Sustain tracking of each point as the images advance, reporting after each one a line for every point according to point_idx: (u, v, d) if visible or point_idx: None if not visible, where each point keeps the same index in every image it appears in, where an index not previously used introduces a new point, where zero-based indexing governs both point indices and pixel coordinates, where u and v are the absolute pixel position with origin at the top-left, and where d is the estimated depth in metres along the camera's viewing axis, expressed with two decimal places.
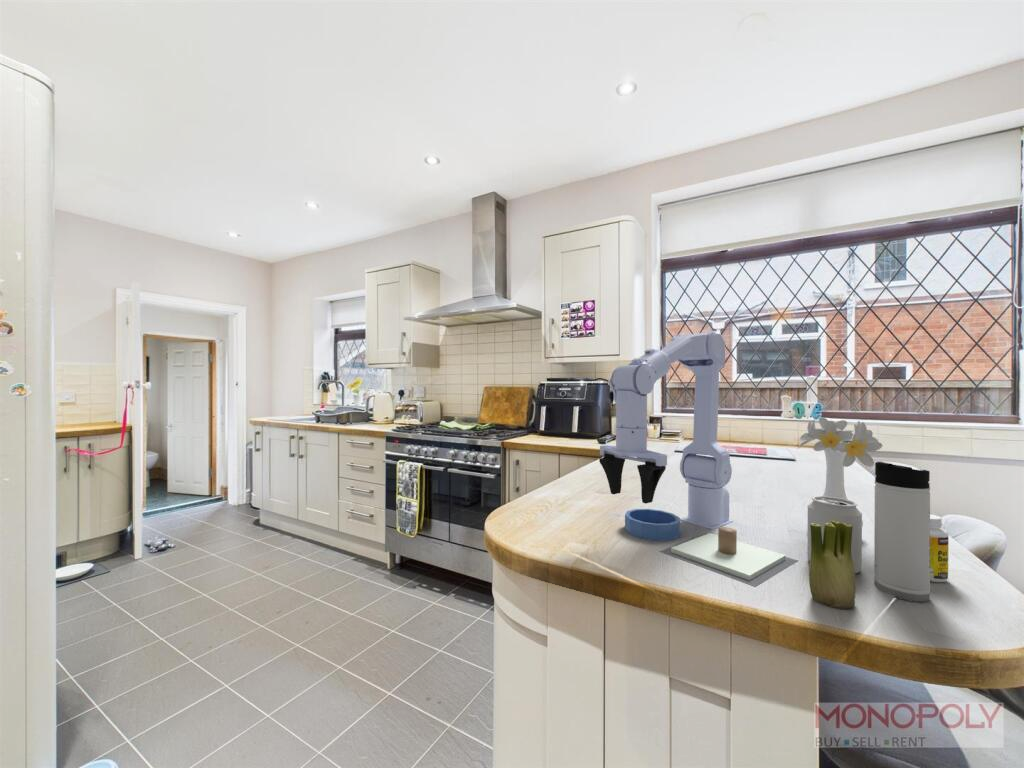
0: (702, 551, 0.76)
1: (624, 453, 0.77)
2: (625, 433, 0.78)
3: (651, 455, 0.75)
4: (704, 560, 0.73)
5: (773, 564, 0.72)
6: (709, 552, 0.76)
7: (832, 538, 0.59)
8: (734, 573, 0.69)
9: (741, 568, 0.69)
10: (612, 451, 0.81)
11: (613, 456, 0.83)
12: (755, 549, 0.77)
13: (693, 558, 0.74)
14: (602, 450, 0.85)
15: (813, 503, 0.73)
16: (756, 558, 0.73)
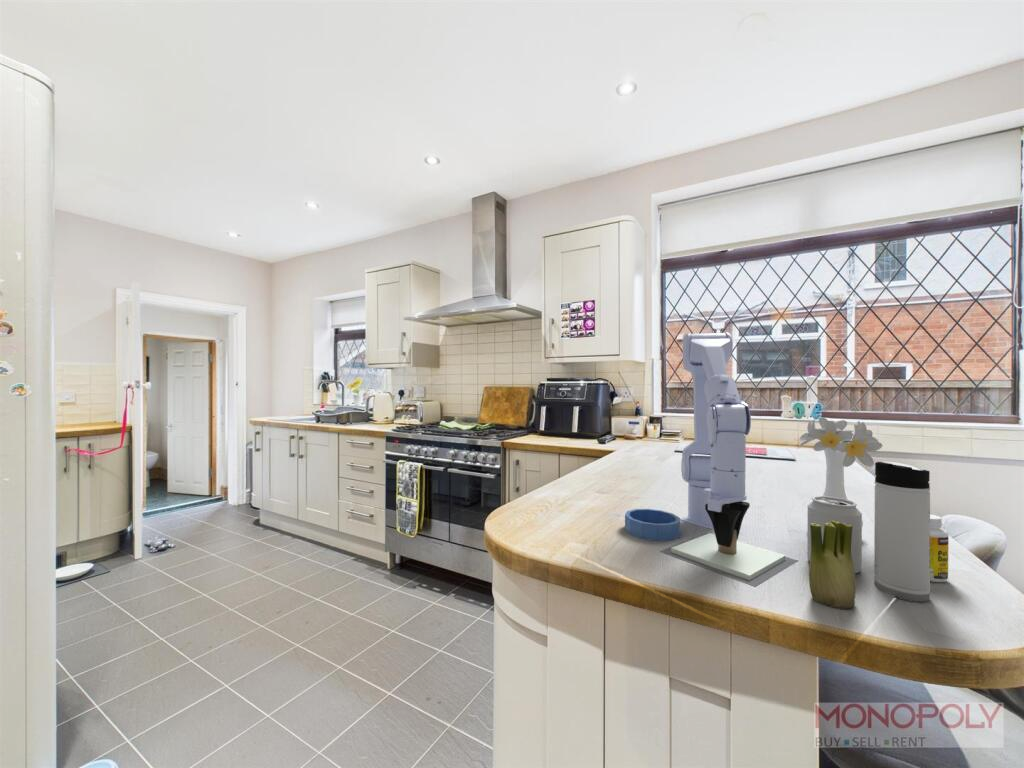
0: (702, 551, 0.76)
1: (707, 492, 0.78)
2: None
3: (709, 498, 0.73)
4: (704, 560, 0.73)
5: (773, 564, 0.72)
6: (709, 552, 0.76)
7: (832, 538, 0.59)
8: (734, 573, 0.69)
9: (741, 568, 0.69)
10: None
11: None
12: (755, 549, 0.77)
13: (693, 558, 0.74)
14: None
15: (813, 503, 0.73)
16: (756, 558, 0.73)
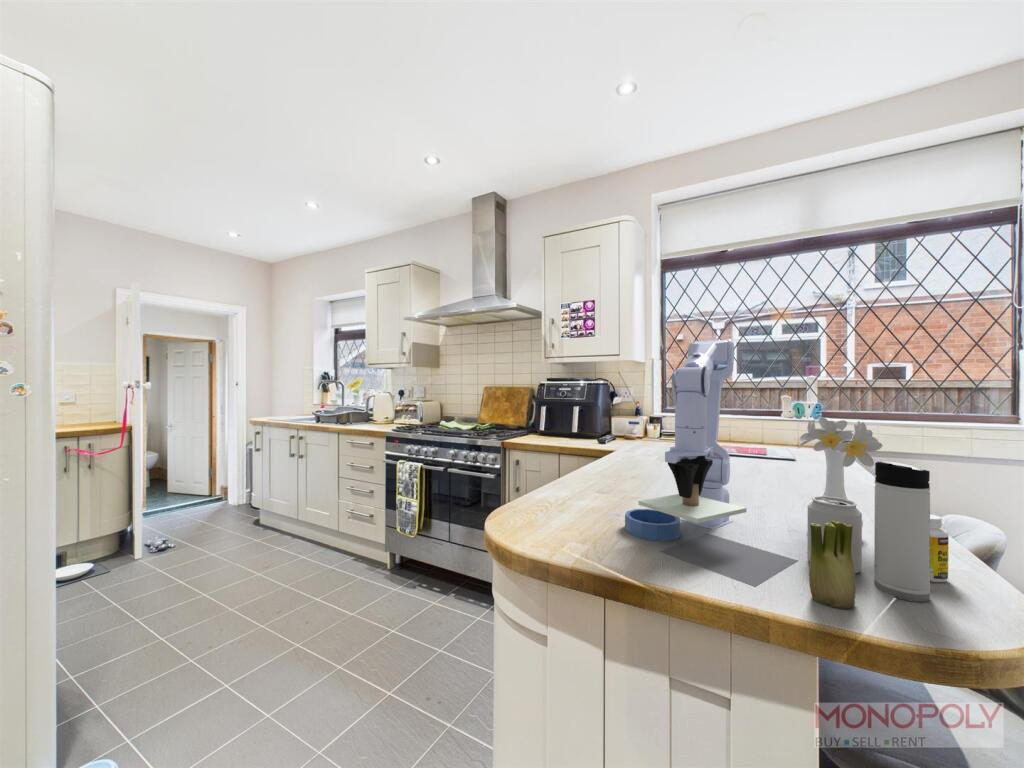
0: (666, 503, 0.83)
1: (672, 449, 0.84)
2: None
3: (668, 452, 0.80)
4: (663, 509, 0.79)
5: (729, 513, 0.77)
6: (672, 504, 0.82)
7: (832, 538, 0.59)
8: (686, 518, 0.75)
9: (693, 514, 0.75)
10: None
11: None
12: (719, 503, 0.83)
13: (655, 508, 0.81)
14: None
15: (813, 503, 0.73)
16: (715, 509, 0.79)
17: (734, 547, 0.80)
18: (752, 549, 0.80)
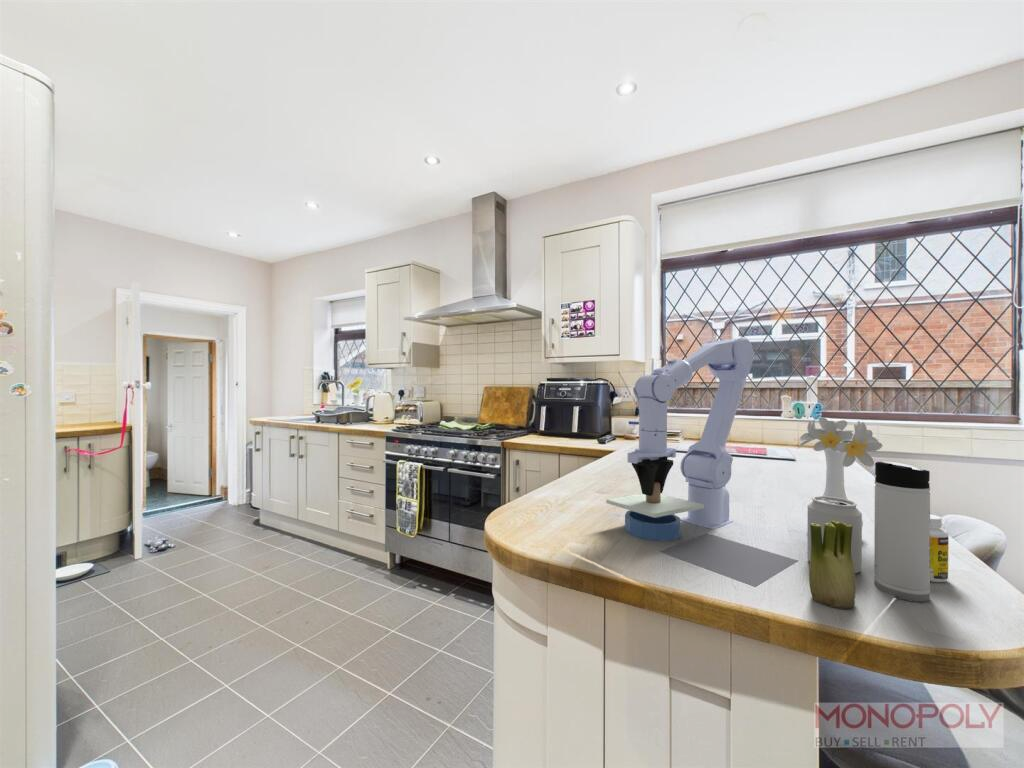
0: (631, 501, 0.90)
1: None
2: None
3: (631, 453, 0.87)
4: (626, 506, 0.86)
5: (686, 509, 0.84)
6: (636, 502, 0.89)
7: (832, 538, 0.59)
8: (645, 513, 0.82)
9: (652, 510, 0.82)
10: None
11: None
12: (680, 501, 0.89)
13: (620, 505, 0.88)
14: None
15: (813, 503, 0.73)
16: (674, 505, 0.86)
17: (734, 547, 0.80)
18: (752, 549, 0.80)
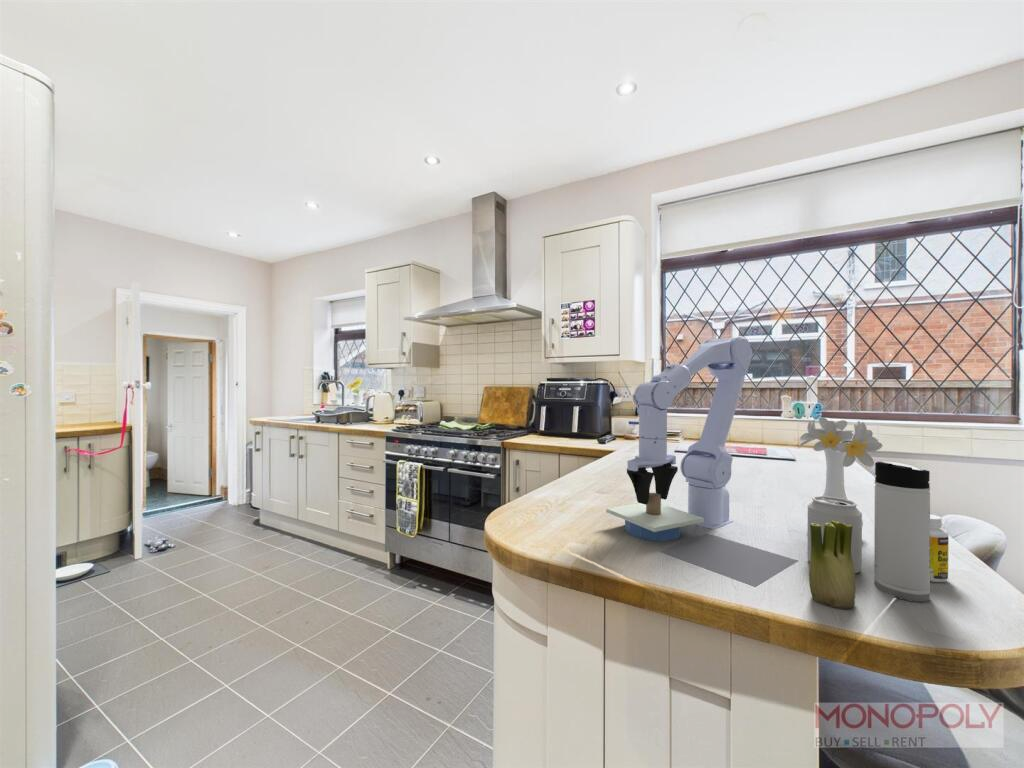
0: (631, 512, 0.90)
1: (637, 457, 0.91)
2: None
3: (631, 460, 0.87)
4: (626, 517, 0.86)
5: (686, 523, 0.84)
6: (636, 512, 0.89)
7: (832, 538, 0.59)
8: (645, 526, 0.82)
9: (652, 523, 0.82)
10: None
11: None
12: (680, 513, 0.89)
13: (620, 516, 0.88)
14: None
15: (813, 503, 0.73)
16: (674, 518, 0.85)
17: (734, 547, 0.80)
18: (752, 549, 0.80)
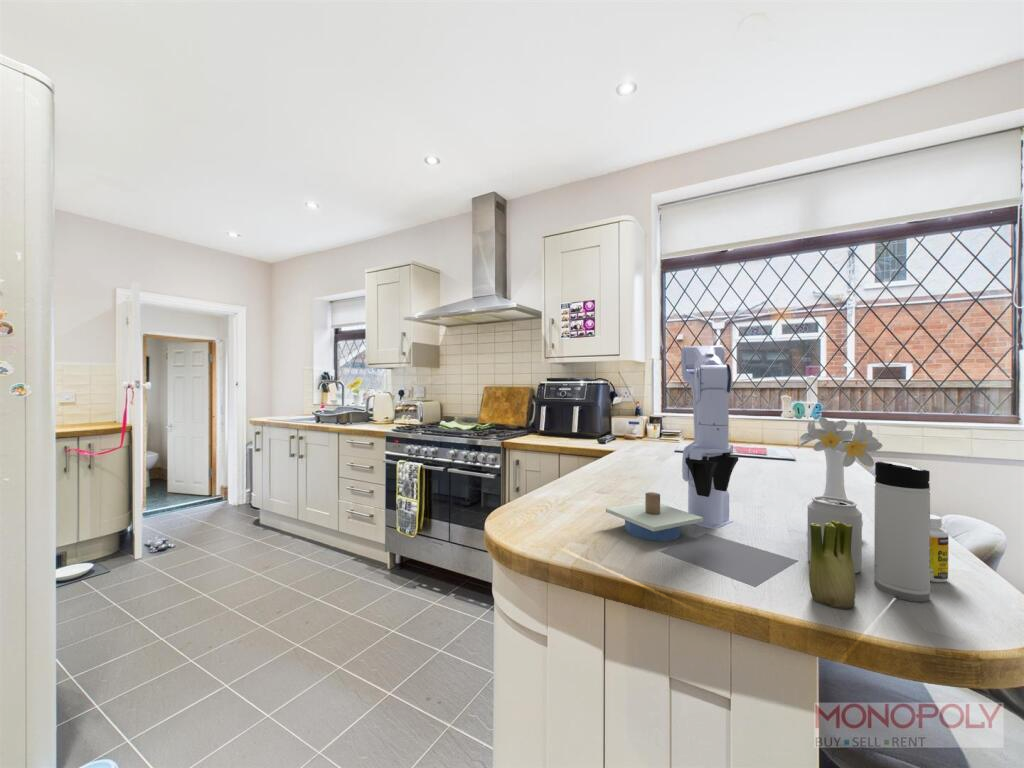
0: (630, 511, 0.90)
1: (694, 446, 0.84)
2: None
3: (692, 449, 0.80)
4: (626, 517, 0.86)
5: (685, 523, 0.84)
6: (635, 512, 0.89)
7: (832, 538, 0.59)
8: (644, 526, 0.82)
9: (651, 522, 0.82)
10: None
11: None
12: (680, 512, 0.89)
13: (619, 516, 0.88)
14: None
15: (813, 503, 0.73)
16: (673, 518, 0.86)
17: (734, 547, 0.80)
18: (752, 549, 0.80)
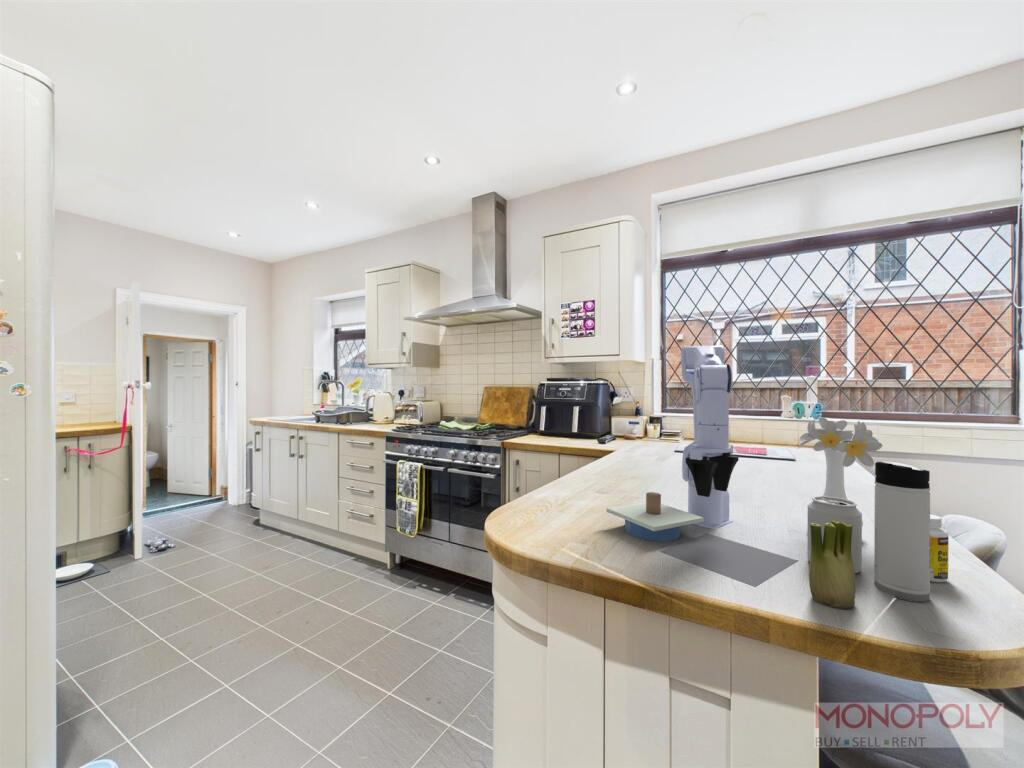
0: (631, 511, 0.90)
1: (694, 446, 0.84)
2: None
3: (693, 449, 0.80)
4: (626, 516, 0.86)
5: (686, 522, 0.84)
6: (636, 512, 0.89)
7: (832, 538, 0.59)
8: (644, 526, 0.82)
9: (652, 522, 0.82)
10: None
11: None
12: (680, 512, 0.89)
13: (619, 515, 0.88)
14: None
15: (813, 503, 0.73)
16: (673, 518, 0.86)
17: (734, 547, 0.80)
18: (752, 549, 0.80)
